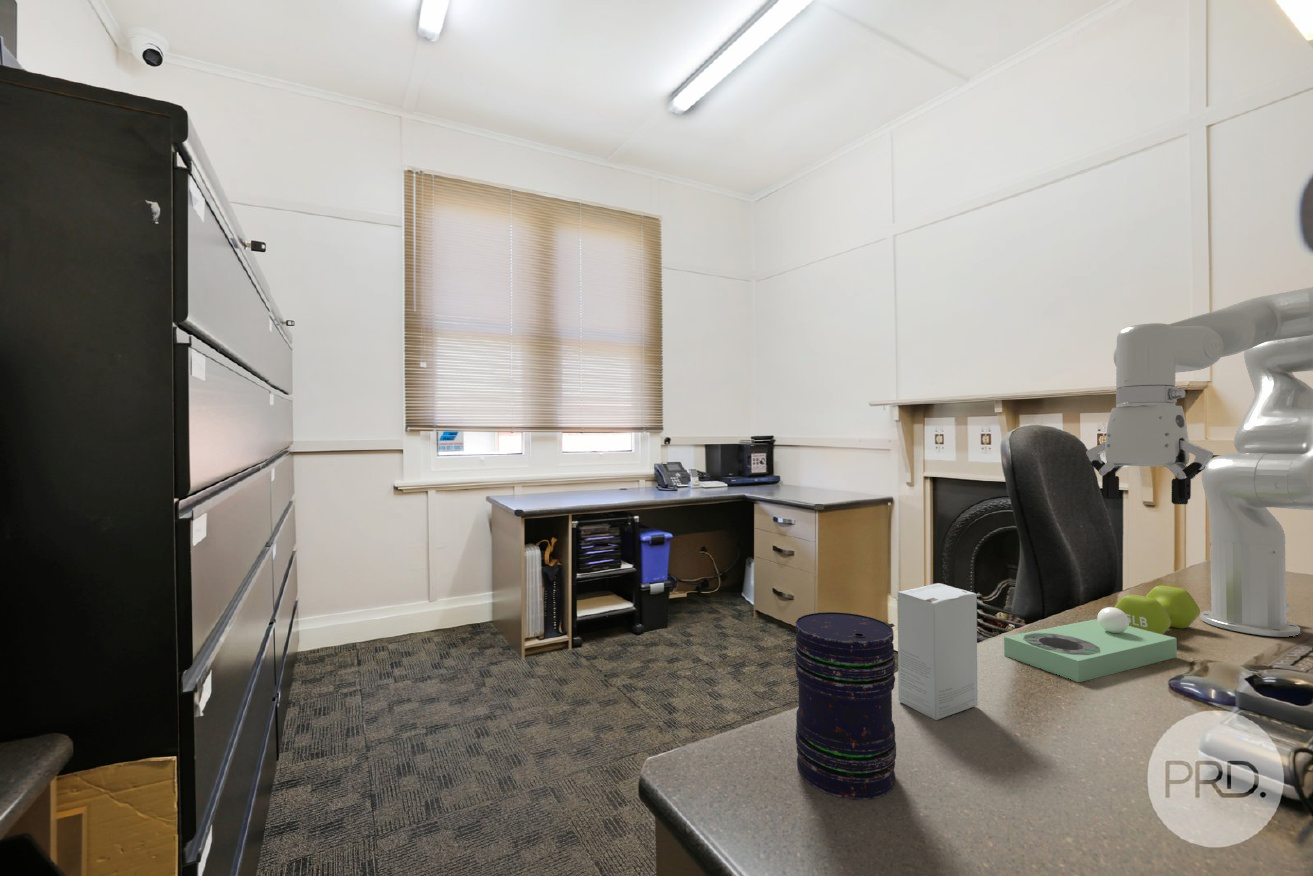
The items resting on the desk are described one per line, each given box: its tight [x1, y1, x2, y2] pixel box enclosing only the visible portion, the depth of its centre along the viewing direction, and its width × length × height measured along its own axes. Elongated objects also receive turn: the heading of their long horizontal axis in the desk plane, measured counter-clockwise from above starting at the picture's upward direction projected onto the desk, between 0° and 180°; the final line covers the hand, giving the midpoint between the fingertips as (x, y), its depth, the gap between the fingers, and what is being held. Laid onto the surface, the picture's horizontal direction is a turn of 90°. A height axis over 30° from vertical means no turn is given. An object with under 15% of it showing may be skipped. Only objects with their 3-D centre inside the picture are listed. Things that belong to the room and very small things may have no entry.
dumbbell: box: [1113, 584, 1201, 635], centre depth 101 cm, size 16×8×7 cm, turn 119°
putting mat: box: [1003, 618, 1178, 683], centre depth 89 cm, size 24×11×3 cm, turn 112°
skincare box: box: [897, 582, 979, 721], centre depth 73 cm, size 8×6×15 cm
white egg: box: [1097, 606, 1129, 633], centre depth 92 cm, size 4×4×4 cm
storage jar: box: [794, 611, 897, 801], centre depth 59 cm, size 10×10×15 cm
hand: (1143, 501), depth 94 cm, fingers open, 9 cm apart
